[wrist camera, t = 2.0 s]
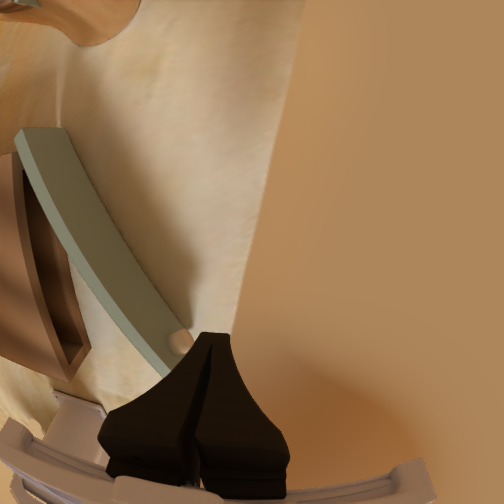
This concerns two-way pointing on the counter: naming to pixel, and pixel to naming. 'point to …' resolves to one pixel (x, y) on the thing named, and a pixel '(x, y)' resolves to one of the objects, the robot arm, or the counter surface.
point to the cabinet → (35, 283)
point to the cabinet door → (100, 248)
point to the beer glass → (74, 17)
